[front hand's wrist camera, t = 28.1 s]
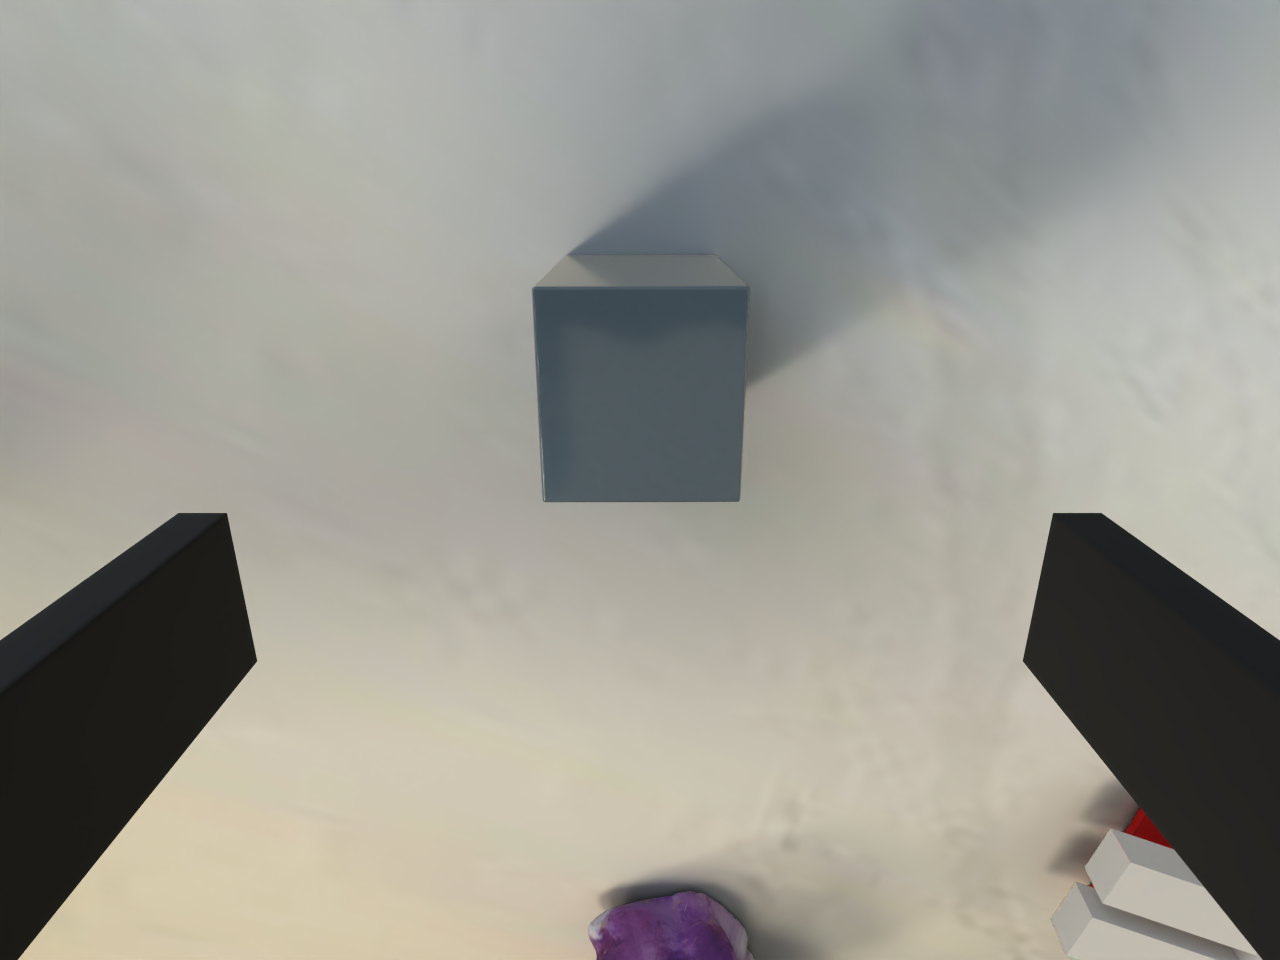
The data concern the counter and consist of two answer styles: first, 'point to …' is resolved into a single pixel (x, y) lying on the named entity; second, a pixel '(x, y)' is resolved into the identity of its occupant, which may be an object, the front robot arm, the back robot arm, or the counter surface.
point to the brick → (641, 378)
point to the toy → (1144, 905)
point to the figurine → (669, 930)
